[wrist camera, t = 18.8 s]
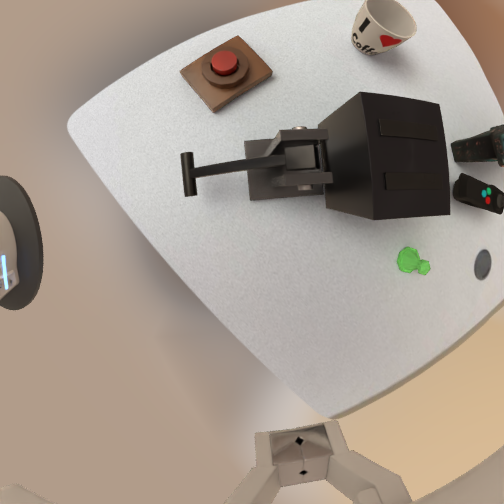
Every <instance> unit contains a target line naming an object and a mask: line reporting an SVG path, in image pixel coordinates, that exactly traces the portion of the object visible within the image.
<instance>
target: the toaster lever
mask: <svg viewBox="0 0 504 504" xmlns="http://www.w3.org/2000/svg"><path fill="white" fill-rule="evenodd" d="M284 152H285V154H281V155H272V156H265V157H257V158H250V159H243V160H237V161H231V162H225V163H219V164H213V165H208V166H202V167H197V168H194V158H193V152H185V153H181V165H182V175H183V185H184V194H185V197H188V196H195V195H197V187H196V178H200V177H206V176H213V175H219V174H226V173H232V172H240V171H247V170H255V169H263V168H272V167H281V166H286V170H287V171H303V170H316V169H320V160H319V150H318V147H317V146H315V145H314V144H310V145H300V146H291V147H284Z"/></svg>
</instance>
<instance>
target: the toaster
mask: <svg viewBox="0 0 504 504" xmlns="http://www.w3.org/2000/svg"><path fill="white" fill-rule="evenodd" d="M318 129H328V137H329V139H328V140H326V141H324V142H323V143H321V144H320V146H321V155H322V165H323V172H332V175H333V183H324V187H325V199H326V208H328V209H332V210H336V211H340V212H344V213H348V214H352V215H356V216H360V217H364V218H368V219H371V220H383V219H397V218H411V217H425V216H441V215H450V184H449V169H448V158H447V149H446V141H445V134H444V128H443V122H442V116H441V111H440V106H439V104H436V103H432V102H427V101H422V100H417V99H411V98H405V97H399V96H392V95H385V94H377V93H368V92H359V93H358V94H356V95H355V96H354V97H352V98H351V99H350V100H348V101H347V102H346V103H345V104H343V105H342V106H341V107H340V108H338V109H337V110H336V111H334V112H333V113H332V114H331V115H329V116H328V117H327V118H326V119H324V120H323V121H322V122H321V123H320V124H318Z"/></svg>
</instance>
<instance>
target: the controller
mask: <svg viewBox="0 0 504 504" xmlns="http://www.w3.org/2000/svg"><path fill="white" fill-rule="evenodd" d="M453 196H454V198H455V199H456V200H457V201H459V202H461V203H464V204H467V205H470V206H474V207H477V208H482V209H485V210H488V211H491V212H494V213H497V214H502V212H503V209H504V193H503V192H502V191H501V190H499V189H498V188H497V187H495V186H494V185H488V184H486V183H484V182H482V181H479V180H477V179H475V178H473V177H471V176H469V175H466V174H464V173H461V174H460V176H459V179H458V180H457V181H456V182H455V184H454V190H453Z"/></svg>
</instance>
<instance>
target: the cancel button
mask: <svg viewBox="0 0 504 504" xmlns="http://www.w3.org/2000/svg"><path fill="white" fill-rule="evenodd" d="M212 66H213V70H214V71H215V72H216V73H217V74H219V75H223V76H225V75H230V74H232V73H233V72H234V71H235V70H236V68H237V57H236V55H235V54H234V53H232V52H230V51H220V52H218V53H216V54H215V55H214V56H213V58H212Z"/></svg>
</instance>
